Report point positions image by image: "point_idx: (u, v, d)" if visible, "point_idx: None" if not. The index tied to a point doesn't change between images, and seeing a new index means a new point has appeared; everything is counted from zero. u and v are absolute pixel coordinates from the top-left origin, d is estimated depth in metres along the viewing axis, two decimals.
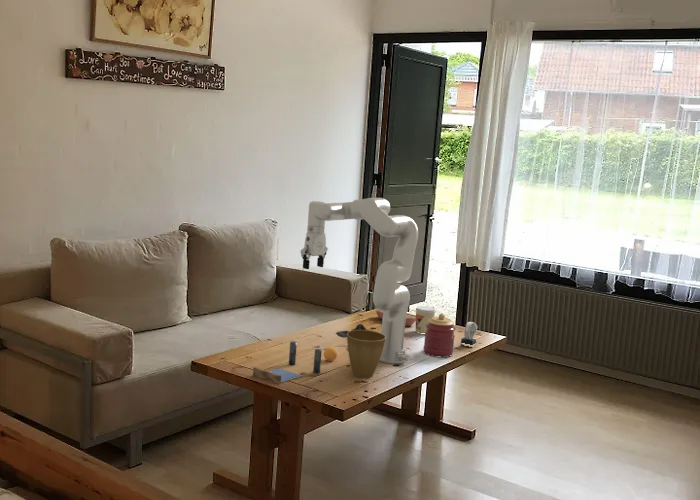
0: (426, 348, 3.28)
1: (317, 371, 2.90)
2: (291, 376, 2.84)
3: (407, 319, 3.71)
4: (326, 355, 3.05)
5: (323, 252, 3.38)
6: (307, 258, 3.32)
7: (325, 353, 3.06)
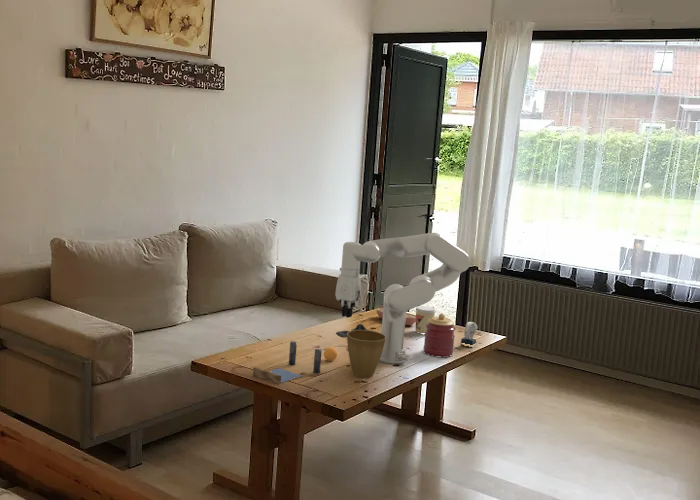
0: (426, 348, 3.28)
1: (317, 371, 2.90)
2: (291, 376, 2.84)
3: (408, 319, 3.72)
4: (326, 355, 3.05)
5: (350, 298, 3.07)
6: (341, 304, 3.12)
7: (325, 353, 3.06)
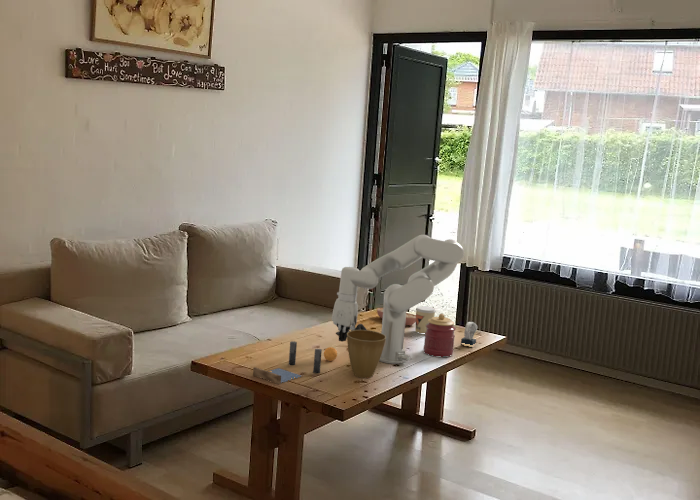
0: (426, 348, 3.28)
1: (317, 371, 2.90)
2: (291, 376, 2.84)
3: (408, 319, 3.72)
4: (326, 355, 3.05)
5: (346, 323, 3.09)
6: (339, 329, 3.13)
7: (325, 353, 3.06)
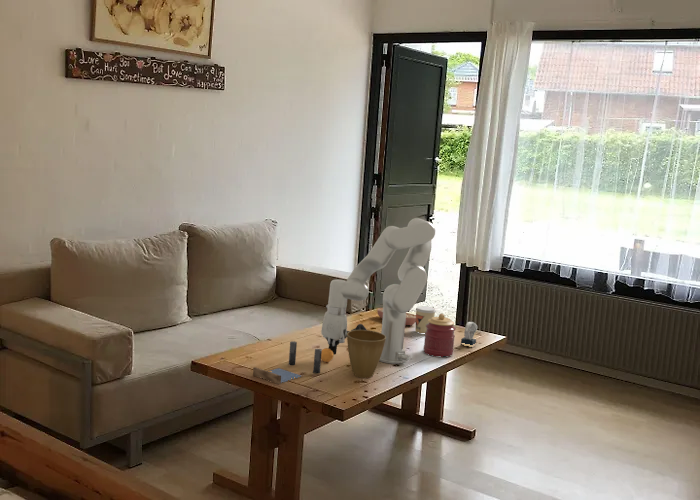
0: (426, 348, 3.28)
1: (317, 371, 2.90)
2: (291, 376, 2.84)
3: (408, 319, 3.72)
4: (323, 360, 3.04)
5: (335, 337, 3.04)
6: (328, 342, 3.09)
7: (321, 358, 3.04)
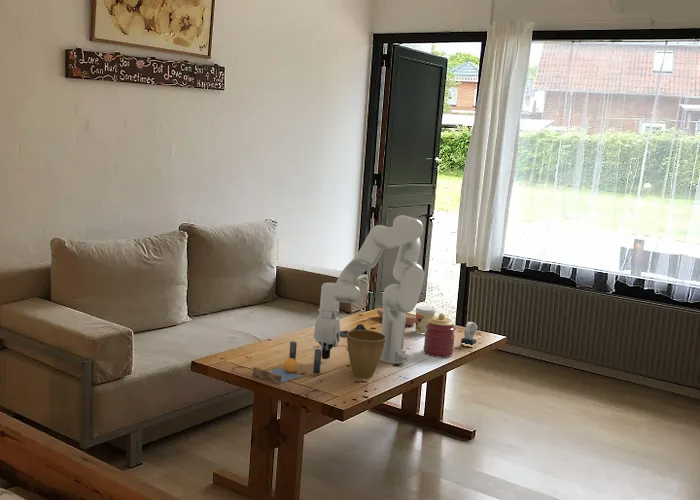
0: (426, 348, 3.28)
1: (317, 371, 2.90)
2: (291, 376, 2.84)
3: (409, 319, 3.72)
4: None
5: (328, 341, 3.00)
6: (321, 347, 3.04)
7: None
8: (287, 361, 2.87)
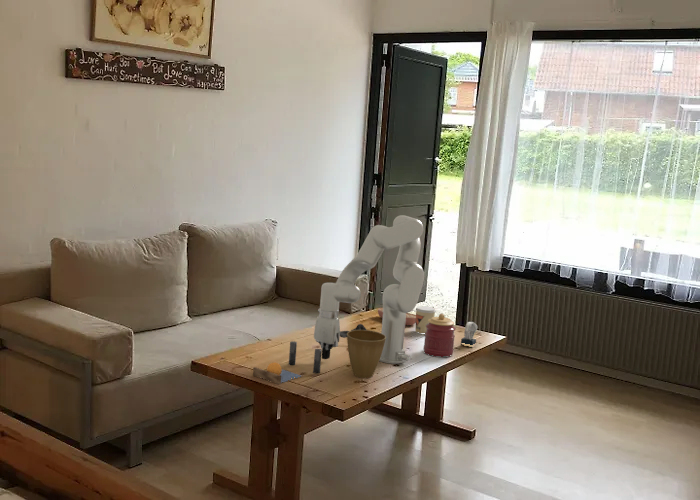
0: (426, 348, 3.28)
1: (317, 371, 2.90)
2: (291, 376, 2.84)
3: (409, 319, 3.72)
4: (271, 365, 2.80)
5: (328, 341, 3.00)
6: (321, 347, 3.04)
7: (271, 364, 2.81)
8: None
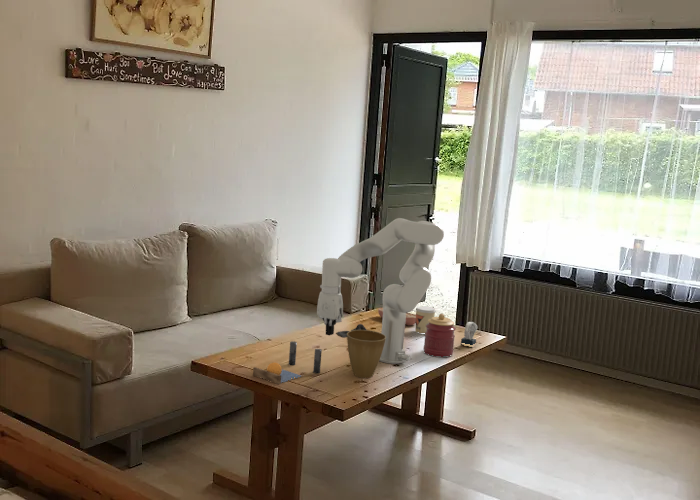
0: (426, 348, 3.28)
1: (317, 371, 2.90)
2: (291, 376, 2.84)
3: (409, 318, 3.73)
4: (271, 365, 2.80)
5: (332, 316, 2.99)
6: (325, 323, 3.03)
7: (271, 364, 2.81)
8: None
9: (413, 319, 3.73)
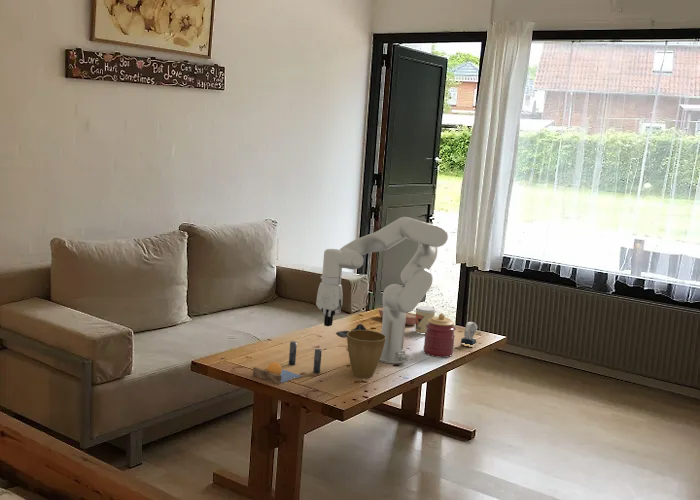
0: (426, 348, 3.28)
1: (317, 371, 2.90)
2: (291, 376, 2.84)
3: (410, 318, 3.73)
4: (271, 365, 2.80)
5: (331, 307, 2.98)
6: (324, 313, 3.02)
7: (271, 364, 2.81)
8: None
9: (414, 319, 3.73)
